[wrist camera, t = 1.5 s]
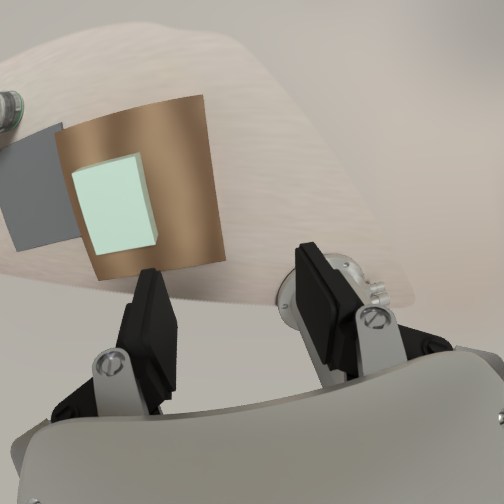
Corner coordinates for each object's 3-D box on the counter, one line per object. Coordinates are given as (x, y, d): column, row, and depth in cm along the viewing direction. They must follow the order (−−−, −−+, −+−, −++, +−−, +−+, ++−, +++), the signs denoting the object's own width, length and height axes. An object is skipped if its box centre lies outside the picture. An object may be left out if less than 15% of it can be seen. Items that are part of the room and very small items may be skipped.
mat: (62, 122, 22) (60, 122, 22) (89, 233, 29) (88, 234, 28) (-11, 156, 21) (-13, 157, 21) (18, 250, 28) (16, 251, 27)
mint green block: (140, 152, 22) (134, 156, 21) (158, 234, 26) (155, 244, 25) (80, 167, 22) (71, 173, 20) (102, 245, 26) (96, 255, 24)
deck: (202, 96, 24) (203, 94, 21) (223, 242, 32) (226, 260, 29) (71, 128, 23) (54, 133, 19) (107, 261, 31) (98, 281, 27)
